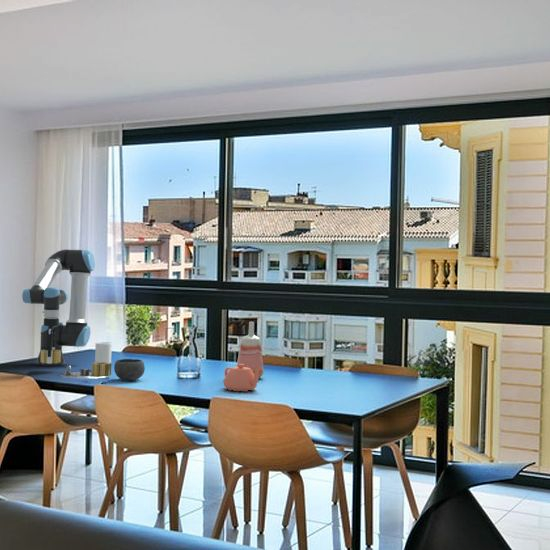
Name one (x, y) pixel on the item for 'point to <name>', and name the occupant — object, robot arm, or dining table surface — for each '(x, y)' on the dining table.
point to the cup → (103, 352)
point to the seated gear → (101, 369)
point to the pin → (68, 370)
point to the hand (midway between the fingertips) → (50, 361)
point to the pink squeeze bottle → (251, 351)
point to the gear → (55, 356)
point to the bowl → (129, 369)
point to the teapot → (241, 378)
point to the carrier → (81, 375)
